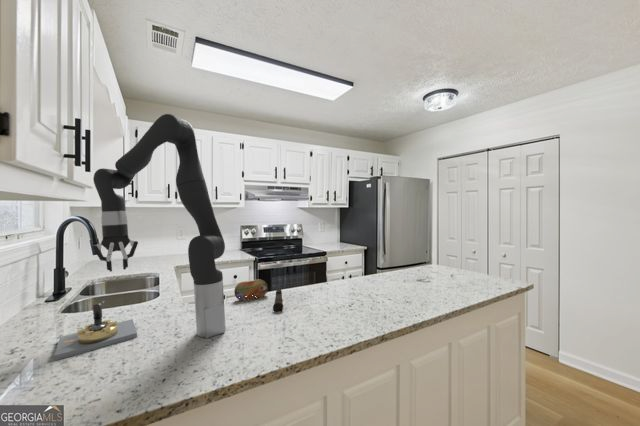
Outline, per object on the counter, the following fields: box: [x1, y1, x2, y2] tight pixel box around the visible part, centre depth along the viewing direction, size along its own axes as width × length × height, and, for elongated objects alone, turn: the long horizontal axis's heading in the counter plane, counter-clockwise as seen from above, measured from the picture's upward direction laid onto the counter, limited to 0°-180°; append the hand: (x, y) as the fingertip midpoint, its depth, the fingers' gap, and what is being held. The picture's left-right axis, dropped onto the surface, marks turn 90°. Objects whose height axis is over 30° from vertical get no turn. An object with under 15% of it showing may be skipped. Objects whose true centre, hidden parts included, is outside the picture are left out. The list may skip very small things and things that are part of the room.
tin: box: [233, 278, 269, 302], centre depth 126 cm, size 15×3×8 cm, turn 114°
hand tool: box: [272, 288, 284, 313], centre depth 116 cm, size 19×4×5 cm, turn 5°
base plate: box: [53, 319, 138, 361], centre depth 91 cm, size 16×20×2 cm
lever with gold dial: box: [76, 302, 118, 344], centre depth 91 cm, size 15×10×8 cm, turn 39°
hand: (117, 269), depth 100 cm, fingers open, 3 cm apart
